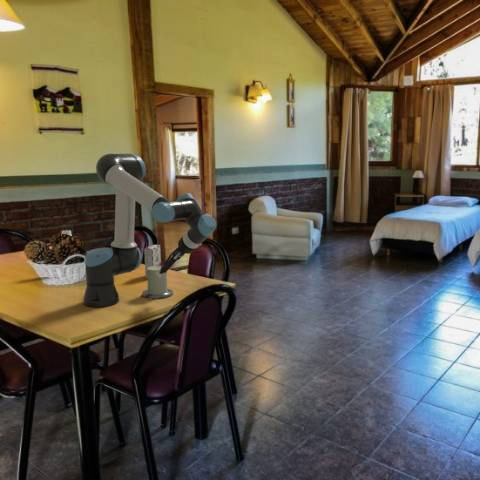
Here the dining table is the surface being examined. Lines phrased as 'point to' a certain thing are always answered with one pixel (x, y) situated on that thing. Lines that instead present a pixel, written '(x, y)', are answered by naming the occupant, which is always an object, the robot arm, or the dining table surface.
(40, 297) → the dining table surface
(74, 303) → the dining table surface
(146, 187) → the robot arm
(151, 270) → the can
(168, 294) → the flange plate
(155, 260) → the candy bar box
